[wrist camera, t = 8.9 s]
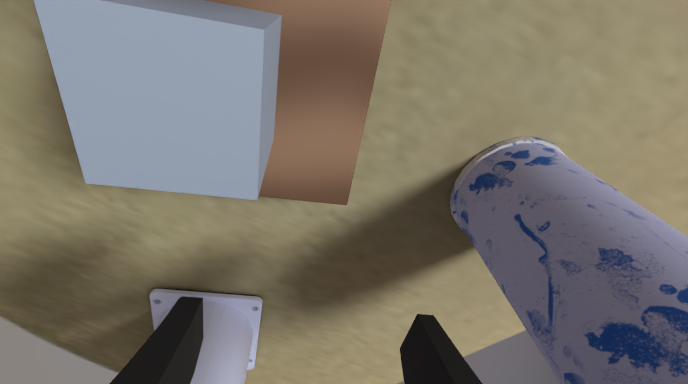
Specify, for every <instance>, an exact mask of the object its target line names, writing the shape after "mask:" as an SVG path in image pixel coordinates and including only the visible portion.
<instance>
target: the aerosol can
mask: <svg viewBox="0 0 688 384" xmlns="http://www.w3.org/2000/svg"><path fill="white" fill-rule="evenodd" d="M450 208H451V214H452V216H453V218H454V219H455V221H456V223H457V224H458V226H459V228H460V229H461V230H462V231H464V232H465V233H466V234H467V235H468V237H469V239H470V240H471V242H472V243H473V245H474V247H475V248H476V250H477V251H478V253H479V255H480V256H481V258H482V259H483V261H484V263H485V264H486V266H487V267H488V269H489V271H490V272H491V274H492V275H493V277H494V279H495V280H496V282H497V283H498V285H499V287H500V288H501V290H502V291H503V293H504V295H505V296H506V298H507V299H508V301H509V303H510V304H511V306H512V307H513V309H514V311H515V312H516V314H517V315H518V317H519V319H520V320H521V322H522V323H523V325H524V327H525V328H526V330H527V331H528V333H529V335H530V336H531V338H532V339H533V341H534V342H535V344H536V346H537V347H538V349H539V351H540V352H541V354H542V355H543V357H544V358H545V360H546V362H547V363H548V365H549V367H550V368H551V369H552V371H553V373H554V374H555V376H556V378H557V379H558V381H559V382H560V384H688V237H687V236H685V235H684V234H682V233H681V232H679V231H678V230H676V229H675V228H673V227H672V226H670V225H669V224H667V223H666V222H664V221H663V220H661V219H660V218H658V217H657V216H655V215H654V214H652V213H651V212H649V211H648V210H646V209H645V208H643V207H642V206H640V205H639V204H637V203H636V202H634V201H633V200H631V199H630V198H628V197H627V196H625V195H624V194H622V193H621V192H619V191H618V190H616V189H614V188H613V187H611V186H610V185H608V184H607V183H605V182H604V181H602V180H601V179H599V178H598V177H596V176H595V175H593V174H592V173H590V172H589V171H587V170H586V169H584V168H583V167H581V166H580V165H578V164H577V163H575V162H574V161H572V160H571V159H569V158H568V157H567V156H566V155H565V154H564V153H563V152H562V151H561V150H560V149H559V148H558V147H557V146H556V145H554V144H553V143H550V142H548V141H545V140H542V139H540V138H537V137H517V138H513V139H510V140H506V141H503V142H499V143H497V144H495V145H493V146H491V147H489V148H488V149H486V150H484V151H482V152H481V153H479V154H478V155H477V156H476V157H475V158H474V159H473V160H471V161H470V162H469V163H468V164H467V165H466V166H465V167H464V168H463V170H462V171H461V173H460V174H459V176H458V178H457V179H456V181H455V182H454V184H453V188H452V192H451V196H450Z"/></svg>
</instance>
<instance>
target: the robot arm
mask: <svg viewBox="0 0 688 384" xmlns="http://www.w3.org/2000/svg"><path fill="white" fill-rule="evenodd" d="M149 297H150V304H151V312H152V319H153V326H154V333H153V334H152V335H151V336H150V338H149V339H148V340H147V341H146V342H145V344H144V345H143V346H142V347H141V348H140V350H139V351H138V352H137V353H136V354H135V355H134V357H133V358H132V359H131V360H130V361H129V363H128V364H127V365H126V366H125V367H124V368H123V369H122V371H121V372H120V373H119V374H118V375H117V376H116V377H115V378H114V379H113V380H112V382H111V383H110V384H245V379H246V373H247V370H251V369H253V368H254V365H255V358H256V350H257V342H258V334H259V327H260V319H261V311H262V303H263V300H262V299H261V298H260V297H257V296H244V295H231V294H219V293H206V292H193V291H181V290H168V289H154V290H152V291H151V293H150V296H149ZM400 353H401V362H402V369H403V376H404V382H405V384H482V383H481V381H480V380H479V379H478V377H477V376H476V375H475V373H474V372H473V370H472V369H471V368H470V366H469V365H468V364H467V362H466V361H465V360H464V358H463V357H462V355H461V354H460V353H459V351H458V350H457V348H456V347H455V345H454V344H453V343H452V341H451V340H450V338H449V337H448V335H447V334H446V333H445V331H444V330H443V328H442V327H441V325H440V324H439V323H438V321H437V320H436V318H435V317H434V316H433V315H422V314H417V316H416V318H415V320H414V322H413V324H412V326H411V328H410V330H409V332H408V334H407V336H406V338H405V339H404V341H403V343H402V345H401V347H400Z"/></svg>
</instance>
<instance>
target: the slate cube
mask: <svg viewBox="0 0 688 384" xmlns="http://www.w3.org/2000/svg"><path fill="white" fill-rule="evenodd" d="M34 3H35V7H36V10H37V14H38V17H39V21H40V24H41V28H42V31H43V35H44V39H45V42H46V46H47V49H48V53H49V56H50V60H51V63H52V67H53V70H54V74H55V77H56V81H57V84H58V88H59V92H60V95H61V99H62V102H63V106H64V109H65V113H66V116H67V120H68V123H69V127H70V130H71V134H72V137H73V141H74V145H75V148H76V152H77V155H78V159H79V162H80V166H81V169H82V173H83V176H84V180H85V183H87V184H98V185H108V186H118V187H128V188H138V189H148V190H159V191H169V192H179V193H189V194H199V195H209V196H220V197H230V198H240V199H250V200H258V196H259V192H260V188H261V185H262V181H263V177H264V173H265V170H266V166H267V162H268V158H269V155H270V151H271V147H272V143H273V140H274V127H275V111H276V96H277V80H278V65H279V49H280V34H281V19H282V15H279V14H274V13H268V12H263V11H258V10H253V9H247V8H242V7H237V6H231V5H226V4H221V3H216V2H210V1H205V0H34Z"/></svg>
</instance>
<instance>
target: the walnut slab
mask: <svg viewBox="0 0 688 384" xmlns="http://www.w3.org/2000/svg"><path fill="white" fill-rule="evenodd" d="M205 1H210V2H216V3H221V4H226V5H231V6H237V7H242V8H247V9H253V10H258V11H263V12H268V13H274V14H279V15H282V19H281V34H280V49H279V65H278V80H277V96H276V111H275V127H274V140H273V143H272V147H271V151H270V155H269V158H268V162H267V166H266V170H265V173H264V177H263V181H262V185H261V188H260V192H259V196H261V197H271V198H281V199H291V200H301V201H310V202H320V203H330V204H340V205H347V202H348V198H349V193H350V188H351V184H352V179H353V175H354V170H355V165H356V161H357V156H358V152H359V147H360V143H361V138H362V133H363V129H364V124H365V120H366V115H367V110H368V106H369V101H370V97H371V92H372V88H373V83H374V78H375V74H376V69H377V65H378V60H379V55H380V51H381V46H382V42H383V37H384V33H385V28H386V23H387V19H388V14H389V10H390V5H391V0H205Z"/></svg>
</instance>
